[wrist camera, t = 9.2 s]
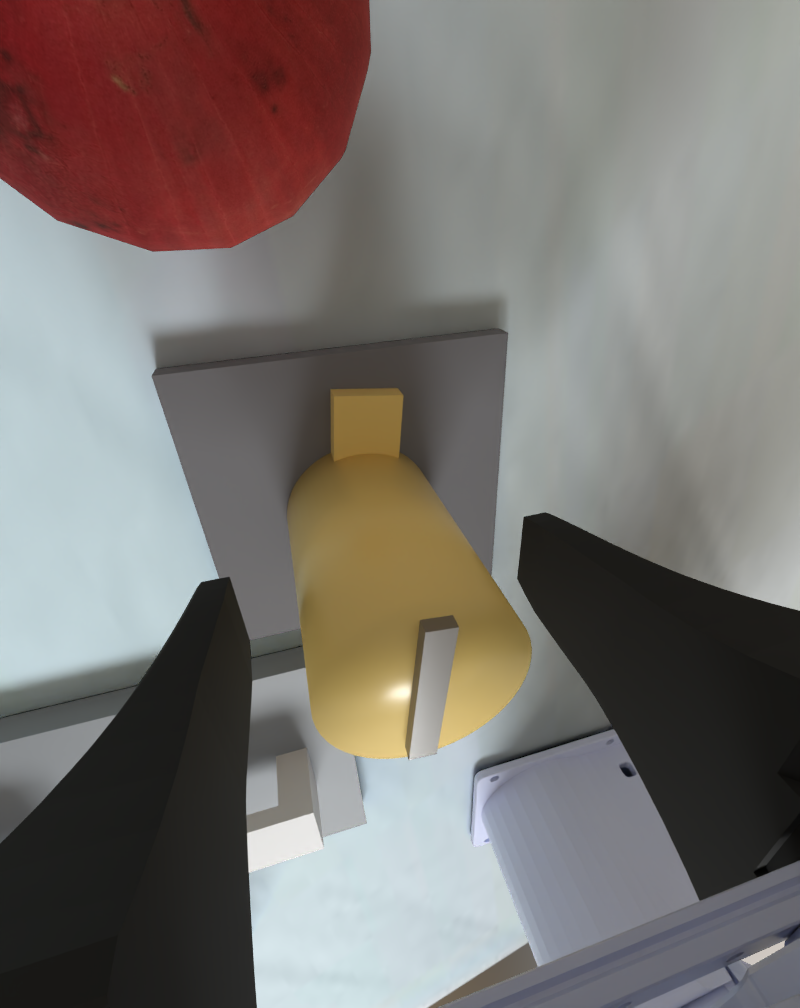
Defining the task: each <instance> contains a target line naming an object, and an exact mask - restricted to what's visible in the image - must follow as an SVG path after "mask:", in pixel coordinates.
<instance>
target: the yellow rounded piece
mask: <svg viewBox="0 0 800 1008" xmlns="http://www.w3.org/2000/svg"><path fill="white" fill-rule="evenodd" d="M330 395H331V453H329V454H327V455H325V456H323V457H322V458H320V459H319V460H317V461H316V462H315V463H313V464H312V465H311V466H310V467H309V468H308V469H307V470H306V471H305V472H304V473H303V474H302V475H301V476H300V478H299V479H298V481H297V482H296V484H295V486H294V488H293V490H292V492H291V495H290V498H289V501H288V507H287V522H288V530H289V538H290V546H291V554H292V562H293V570H294V578H295V586H296V594H297V603H298V611H299V619H300V627H301V635H302V643H303V651H304V659H305V667H306V675H307V683H308V692H309V700H310V708H311V714H312V719H313V722H314V725H315V727H316V729H317V730H318V732H319V733H320V735H321V736H322V737H323V738H324V739H325V740H326V741H327V742H328V743H330V744H331V745H333V746H334V747H335V748H337V749H339V750H342V751H344V752H346V753H349V754H352V755H356V756H361V757H366V758H377V759H389V758H401V757H408V759H409V760H412V759H416V758H421V757H425V756H429V755H434V754H437V749H438V748H441V747H444V746H446V745H449V744H451V743H453V742H455V741H457V740H459V739H461V738H463V737H465V736H467V735H469V734H470V733H472V732H474V731H475V730H477V729H479V728H480V727H481V726H483V725H484V724H486V723H487V722H488V721H490V720H491V719H492V718H493V717H494V716H496V715H497V714H498V713H499V712H500V711H501V710H502V709H503V708H504V707H505V706H506V705H507V704H508V703H509V702H510V700H511V699H512V698H513V697H514V696H515V694H516V693H517V691H518V690H519V688H520V687H521V685H522V683H523V681H524V679H525V677H526V675H527V672H528V670H529V666H530V662H531V653H532V647H531V640H530V637H529V634H528V631H527V630H526V628H525V626H524V625H523V623H522V622H521V620H520V619H519V617H518V616H517V614H516V613H515V611H514V610H513V608H512V607H511V605H510V604H509V602H508V601H507V599H506V598H505V596H504V595H503V593H502V592H501V590H500V589H499V587H498V586H497V584H496V583H495V581H494V580H493V578H492V577H491V575H490V574H489V572H488V571H487V569H486V568H485V566H484V565H483V563H482V562H481V560H480V559H479V557H478V556H477V554H476V553H475V551H474V550H473V548H472V547H471V545H470V544H469V542H468V541H467V539H466V538H465V536H464V535H463V533H462V532H461V530H460V529H459V527H458V526H457V524H456V523H455V521H454V520H453V518H452V517H451V515H450V514H449V512H448V511H447V509H446V508H445V506H444V505H443V503H442V502H441V500H440V499H439V497H438V496H437V494H436V493H435V491H434V490H433V488H432V487H431V485H430V484H429V482H428V481H427V479H426V478H425V476H424V475H423V473H422V472H421V470H420V469H419V467H418V466H417V465H416V464H415V463H414V462H413V461H412V460H411V459H409V458H408V457H407V456H405V455H404V454H402V453H400V452H399V450H400V436H401V423H402V409H403V394H402V393H401V392H400V390H399V389H398V388H372V389H330Z"/></svg>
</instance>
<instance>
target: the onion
mask: <svg viewBox="0 0 800 1008" xmlns="http://www.w3.org/2000/svg"><path fill="white" fill-rule="evenodd" d="M370 54H371V41H370V10H369V0H0V178H1V179H2V180H3V181H5V182H6V183H7V184H9V185H10V186H11V187H13V188H14V189H16V190H17V191H18V192H20V193H21V194H22V195H24V196H25V197H26V198H28V199H29V200H30V201H32V202H33V203H34V204H36V205H37V206H39V207H40V208H41V209H43V210H44V211H45V212H47V213H48V214H49V215H51V216H52V217H53V218H55V219H56V220H58V221H61V222H64V223H67V224H70V225H73V226H76V227H79V228H82V229H85V230H88V231H92V232H95V233H98V234H101V235H104V236H107V237H110V238H113V239H116V240H119V241H122V242H125V243H128V244H131V245H135V246H138V247H141V248H144V249H147V250H150V251H173V250H194V249H214V248H231V247H233V246H235V245H237V244H239V243H241V242H243V241H245V240H247V239H249V238H251V237H253V236H255V235H257V234H259V233H261V232H263V231H265V230H267V229H269V228H271V227H273V226H274V225H276V224H278V223H280V222H282V221H284V220H286V219H288V218H290V217H292V216H294V214H295V213H296V212H297V211H298V210H299V208H300V207H301V206H302V205H303V204H304V202H305V201H306V200H307V199H308V198H309V196H310V195H311V194H312V193H313V192H314V190H315V189H316V188H317V187H318V186H319V184H320V183H321V182H322V181H323V180H324V178H325V177H326V176H327V175H328V174H329V172H330V171H331V170H332V169H333V168H334V166H335V165H336V164H337V163H338V162H339V160H340V159H341V158H342V156H343V154H344V152H345V150H346V146H347V143H348V139H349V135H350V132H351V128H352V125H353V121H354V117H355V114H356V110H357V107H358V103H359V99H360V96H361V92H362V89H363V85H364V81H365V78H366V74H367V71H368V65H369V59H370Z"/></svg>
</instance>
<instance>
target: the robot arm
mask: <svg viewBox="0 0 800 1008" xmlns="http://www.w3.org/2000/svg"><path fill="white" fill-rule="evenodd" d="M517 579H518V581H519V583H520V585H521V587H522V589H523V591H524V593H525V595H526V597H527V599H528V601H529V602H530V604H531V606H532V608H533V610H534V611H535V613H536V614H537V616H538V617H539V619H540V620H541V622H542V623H543V624H544V626H545V627H546V629H547V630H548V631H549V633H550V634H551V636H552V637H553V638H554V640H555V641H556V643H557V644H558V645H559V647H560V648H561V649H562V651H563V652H564V654H565V655H566V656H567V658H568V659H569V661H570V662H571V663H572V665H573V666H574V667H575V669H576V670H577V672H578V673H579V674H580V676H581V677H582V678H583V680H584V681H585V683H586V684H587V686H588V687H589V689H590V690H591V692H592V693H593V695H594V696H595V698H596V699H597V701H598V703H599V704H600V706H601V708H602V709H603V711H604V713H605V715H606V716H607V718H608V720H609V721H610V723H611V725H612V727H613V728H614V729H612V730H609V731H606V732H602V733H599V734H596V735H593V736H590V737H586V738H583V739H580V740H577V741H574V742H570V743H567V744H564V745H561V746H558V747H554V748H551V749H548V750H545V751H542V752H538V753H535V754H532V755H529V756H526V757H522V758H519V759H516V760H513V761H510V762H506V763H503V764H500V765H497V766H493V767H490V768H487V769H484V770H481V771H479V772H478V773H477V774H476V775H475V778H474V794H473V810H472V826H471V841H472V844H473V846H475V847H479V846H482V845H485V844H488V843H491V845H492V848H493V851H494V853H495V856H496V858H497V861H498V864H499V866H500V869H501V871H502V874H503V877H504V879H505V882H506V884H507V887H508V890H509V892H510V895H511V898H512V900H513V903H514V905H515V908H516V911H517V913H518V916H519V918H520V921H521V924H522V926H523V929H524V931H525V934H526V937H527V939H528V942H529V944H530V947H531V950H532V952H533V955H534V957H535V960H536V963H537V965H538V967H536V968H534V969H531V970H529V971H527V972H524V973H521V974H519V975H516V976H514V977H512V978H510V979H507V980H504V981H502V982H499V983H497V984H494V985H492V986H490V987H487V988H485V989H482V990H480V991H477V992H475V993H472V994H470V995H467V996H465V997H462V998H460V999H458V1000H455V1001H453V1002H450V1003H448V1004H445V1005H443V1006H440V1007H438V1008H800V611H798V610H794V609H790V608H786V607H782V606H778V605H775V604H771V603H768V602H764V601H761V600H757V599H754V598H750V597H747V596H743V595H740V594H737V593H734V592H730V591H727V590H724V589H721V588H718V587H715V586H712V585H710V584H707V583H704V582H701V581H698V580H696V579H693V578H690V577H687V576H685V575H682V574H679V573H677V572H674V571H672V570H669V569H667V568H665V567H662V566H660V565H658V564H655V563H653V562H650V561H648V560H646V559H643V558H641V557H639V556H637V555H635V554H632V553H630V552H628V551H626V550H624V549H622V548H620V547H617V546H615V545H613V544H611V543H609V542H607V541H605V540H603V539H601V538H599V537H597V536H595V535H593V534H591V533H589V532H587V531H585V530H583V529H581V528H579V527H577V526H575V525H572V524H570V523H568V522H566V521H564V520H562V519H560V518H558V517H555V516H553V515H551V514H548V513H546V512H545V513H540V514H535V515H531V516H526V517H524V520H523V529H522V539H521V549H520V558H519V568H518V578H517ZM251 699H252V665H251V650H250V639H249V636H248V633H247V630H246V627H245V623H244V620H243V617H242V614H241V611H240V608H239V605H238V601H237V598H236V595H235V592H234V589H233V586H232V582H231V579H230V577H225V578H220V579H215V580H210V581H205V582H201V583H200V585H199V586H198V587H197V589H196V591H195V593H194V594H193V596H192V598H191V600H190V602H189V604H188V605H187V607H186V609H185V611H184V613H183V614H182V616H181V618H180V620H179V621H178V623H177V625H176V627H175V628H174V630H173V632H172V633H171V635H170V636H169V638H168V640H167V641H166V643H165V645H164V646H163V648H162V649H161V651H160V653H159V654H158V656H157V658H156V659H155V661H154V662H153V664H152V665H151V667H150V668H149V670H148V671H147V672H146V674H145V675H144V677H143V678H142V680H141V681H140V683H139V684H138V686H137V687H136V688H135V690H134V691H133V693H132V694H131V696H130V697H129V698H128V700H127V701H126V703H125V704H124V705H123V707H122V708H121V709H120V711H119V712H118V713H117V715H116V716H115V717H114V718H113V720H112V721H111V722H110V724H109V725H108V726H107V727H106V729H105V730H104V731H103V732H102V734H101V735H100V736H99V737H98V739H97V740H96V741H95V742H94V743H93V745H92V746H91V747H90V748H89V750H88V751H87V752H86V753H85V754H84V755H83V756H82V758H81V759H80V760H79V761H78V762H77V763H76V764H75V766H74V767H73V768H72V769H71V770H70V771H69V772H68V773H67V774H66V775H65V777H64V778H63V779H62V780H61V781H60V782H59V783H58V784H57V785H56V786H55V788H54V789H53V790H52V791H51V792H50V793H49V794H48V795H47V796H46V797H45V799H44V800H43V801H42V802H41V803H40V804H39V805H38V806H37V807H36V808H35V809H34V810H33V811H32V812H31V813H30V814H29V815H28V816H27V817H26V818H25V819H24V820H23V821H22V822H21V823H20V824H19V825H18V826H17V827H16V828H15V829H14V830H13V831H12V832H11V833H10V834H9V835H8V836H7V837H6V838H5V839H4V840H3V841H2V842H1V843H0V1008H257V1005H256V991H255V977H254V961H253V944H252V927H251V910H250V890H249V868H248V844H247V815H246V782H247V764H248V748H249V732H250V716H251ZM784 940H786V941H785V946H784V947H783V948H782V949H780V950H778V951H777V952H775V953H773V954H771V955H770V956H768V957H766V958H764V959H763V960H761V961H759V962H757V963H756V964H754V965H750V964H748V963H746V962H744V961H742V960H741V959H744V958H746V957H748V956H750V955H753V954H755V953H757V952H759V951H762V950H764V949H766V948H769V947H771V946H773V945H775V944H777V943H780V942H782V941H784Z"/></svg>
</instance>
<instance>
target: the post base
mask: <svg viewBox="0 0 800 1008" xmlns="http://www.w3.org/2000/svg"><path fill="white" fill-rule="evenodd" d="M251 665H252V699H251V716H250V732H249V748H248V764H247V782H246V815H247V844H248V868H249V873H250V872H253V871H256V870H259V869H262V868H266V867H269V866H272V865H275V864H278V863H281V862H284V861H287V860H290V859H293V858H296V857H299V856H303V855H306V854H309V853H312V852H315V851H318V850H321V849H324V844H323V837H326V836H329V835H332V834H335V833H338V832H341V831H344V830H347V829H351V828H354V827H357V826H360V825H363V824H366V823H367V822H366V817H365V811H364V806H363V800H362V795H361V789H360V784H359V778H358V773H357V767H356V762H355V756H354V755H352V754H349V753H346V752H344V751H342V750H339V749H337V748H335V747H334V746H333V745H331V744H330V743H328V742H327V741H326V740H325V739H324V738H323V737H322V736H321V735H320V733H319V732H318V730H317V729H316V727H315V725H314V722H313V719H312V714H311V708H310V700H309V692H308V683H307V675H306V667H305V659H304V651H303V646H302V647H298V648H294V649H289V650H285V651H281V652H277V653H273V654H268V655H264V656H260V657H256V658H252V659H251ZM136 687H137V686H134V687H130V688H126V689H122V690H117V691H113V692H109V693H105V694H101V695H97V696H92V697H88V698H84V699H80V700H76V701H71V702H67V703H63V704H59V705H55V706H50V707H46V708H42V709H38V710H34V711H29V712H25V713H21V714H17V715H13V716H9V717H4V718H0V843H1V842H2V841H3V840H4V839H5V838H6V837H7V836H8V835H9V834H10V833H11V832H12V831H13V830H14V829H15V828H16V827H17V826H18V825H19V824H20V823H21V822H22V821H23V820H24V819H25V818H26V817H27V816H28V815H29V814H30V813H31V812H32V811H33V810H34V809H35V808H36V807H37V806H38V805H39V804H40V803H41V802H42V801H43V800H44V799H45V797H46V796H47V795H48V794H49V793H50V792H51V791H52V790H53V789H54V788H55V786H56V785H57V784H58V783H59V782H60V781H61V780H62V779H63V778H64V777H65V775H66V774H67V773H68V772H69V771H70V770H71V769H72V768H73V767H74V766H75V764H76V763H77V762H78V761H79V760H80V759H81V758H82V756H83V755H84V754H85V753H86V752H87V751H88V750H89V748H90V747H91V746H92V745H93V743H94V742H95V741H96V740H97V739H98V737H99V736H100V735H101V734H102V732H103V731H104V730H105V729H106V727H107V726H108V725H109V724H110V722H111V721H112V720H113V718H114V717H115V716H116V715H117V713H118V712H119V711H120V709H121V708H122V707H123V705H124V704H125V703H126V701H127V700H128V698H129V697H130V696H131V694H132V693H133V691H134V690H135V688H136Z"/></svg>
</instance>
